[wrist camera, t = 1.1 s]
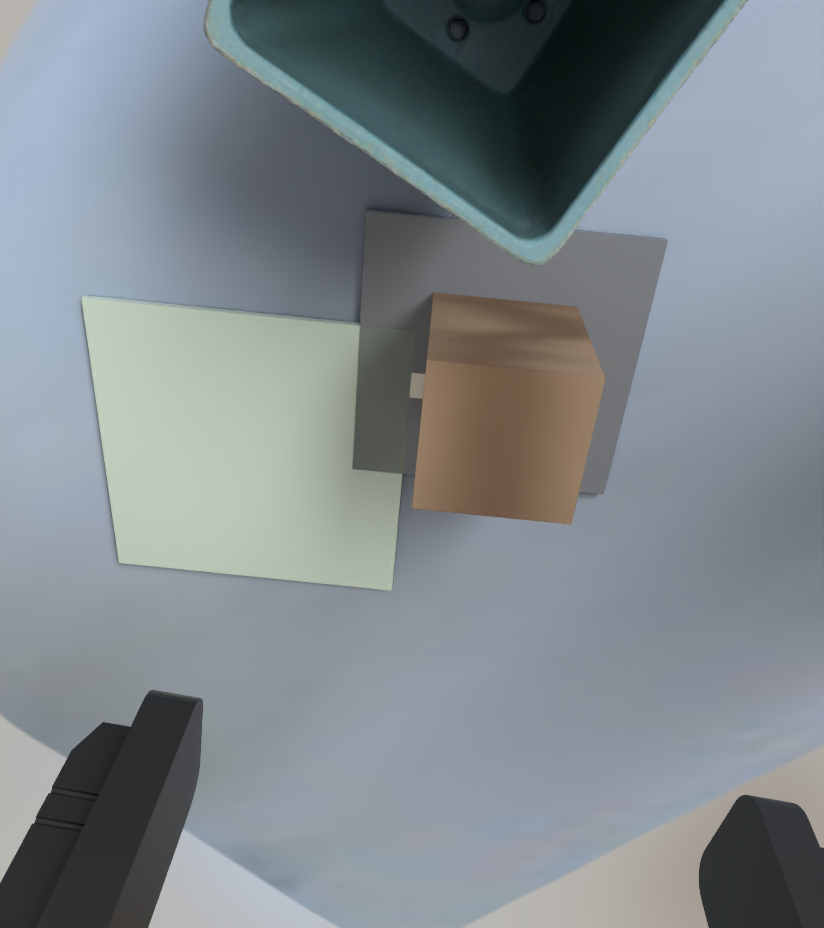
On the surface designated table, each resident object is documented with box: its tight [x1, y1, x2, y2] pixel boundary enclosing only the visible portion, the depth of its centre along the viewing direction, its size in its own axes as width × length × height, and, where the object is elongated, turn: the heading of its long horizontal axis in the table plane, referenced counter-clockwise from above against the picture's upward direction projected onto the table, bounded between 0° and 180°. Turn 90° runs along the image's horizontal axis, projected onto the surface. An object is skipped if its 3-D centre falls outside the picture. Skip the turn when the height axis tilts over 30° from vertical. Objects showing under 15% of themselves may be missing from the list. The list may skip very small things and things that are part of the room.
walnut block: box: [412, 292, 605, 524], centre depth 25 cm, size 5×5×6 cm
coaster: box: [81, 295, 415, 591], centre depth 31 cm, size 12×12×1 cm
